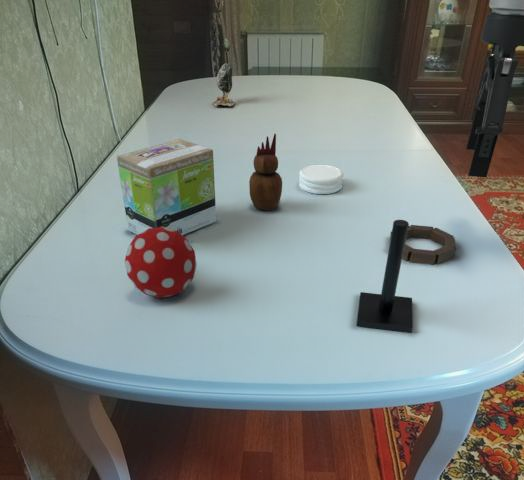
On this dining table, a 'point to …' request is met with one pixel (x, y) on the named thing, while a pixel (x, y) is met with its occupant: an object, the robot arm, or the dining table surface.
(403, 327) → the stand
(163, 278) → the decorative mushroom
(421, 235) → the ring
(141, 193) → the tea box
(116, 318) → the dining table surface
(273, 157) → the wooden figurine
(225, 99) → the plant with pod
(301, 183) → the coaster
